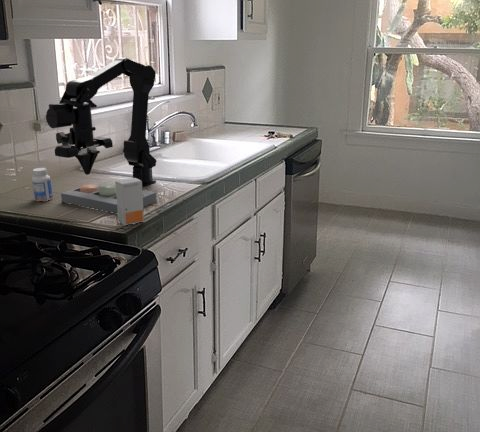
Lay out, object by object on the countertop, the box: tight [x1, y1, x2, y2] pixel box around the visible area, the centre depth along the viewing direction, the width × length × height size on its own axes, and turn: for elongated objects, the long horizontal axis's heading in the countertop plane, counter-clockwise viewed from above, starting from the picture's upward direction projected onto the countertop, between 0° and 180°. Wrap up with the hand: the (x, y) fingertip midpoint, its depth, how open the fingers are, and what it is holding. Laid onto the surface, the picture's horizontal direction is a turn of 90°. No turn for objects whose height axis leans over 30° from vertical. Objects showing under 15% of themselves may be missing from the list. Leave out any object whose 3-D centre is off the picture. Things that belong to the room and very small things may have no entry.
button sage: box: [98, 183, 116, 197], centre depth 163 cm, size 6×6×3 cm
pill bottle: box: [31, 167, 54, 202], centre depth 166 cm, size 6×5×10 cm
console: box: [60, 181, 157, 214], centre depth 164 cm, size 15×25×3 cm, turn 59°
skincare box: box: [114, 177, 145, 226], centre depth 145 cm, size 6×4×12 cm
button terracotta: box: [79, 183, 99, 194], centre depth 167 cm, size 6×6×3 cm
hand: (87, 174), depth 165 cm, fingers closed
